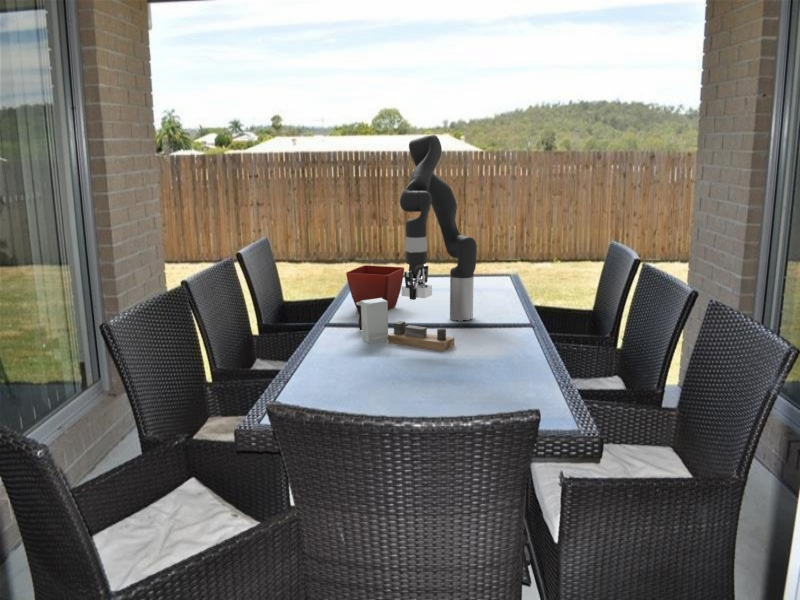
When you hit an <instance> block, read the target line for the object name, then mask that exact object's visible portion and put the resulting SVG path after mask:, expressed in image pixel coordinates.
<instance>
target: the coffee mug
mask: <svg viewBox="0 0 800 600" xmlns="http://www.w3.org/2000/svg"><path fill="white" fill-rule="evenodd" d="M356 306H357V308H356V311H357V319H358V327H359V331H361V330H362V318H361V302H357V303H356ZM356 306H355V307H356Z"/></svg>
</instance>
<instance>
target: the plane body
mask: <svg viewBox="0 0 800 600" xmlns="http://www.w3.org/2000/svg"><path fill="white" fill-rule="evenodd" d="M427 330H428V329H427V327H425V326H418V325H407V326H406V321H404V320H398V321H396V322H394V323H393V332H392V333H390V334H389V333H388V340H387V344H390V345H396V346H398V345H399V346H403V347H412V348H418V349H425V350H432V351H436V352H446V351H448V350H450V349H451V348H453V347H455V337H453V336H447V329H446V328H443V327H441V328H437V331H436V334H432V333H431V334H429V333H428V331H427ZM452 346H453V347H452ZM449 348H450V349H449Z"/></svg>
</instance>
